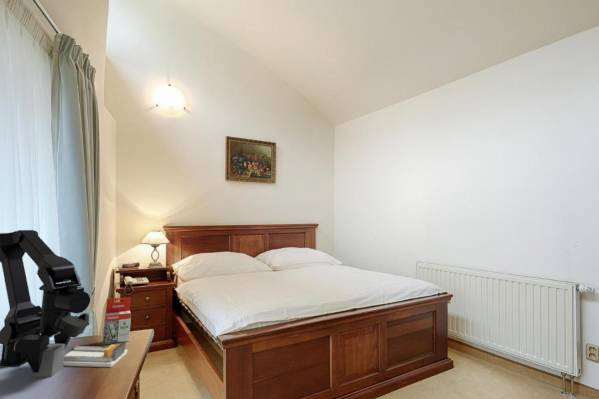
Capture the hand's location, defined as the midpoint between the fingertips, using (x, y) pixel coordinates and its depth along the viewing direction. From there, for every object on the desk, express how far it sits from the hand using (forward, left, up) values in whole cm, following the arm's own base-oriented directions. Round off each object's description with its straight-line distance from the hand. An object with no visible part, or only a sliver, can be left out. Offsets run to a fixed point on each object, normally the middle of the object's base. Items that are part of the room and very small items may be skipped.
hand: (48, 364), depth 89 cm
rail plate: (+7, +9, -2) cm, 12 cm away
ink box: (+7, +23, -2) cm, 24 cm away
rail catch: (+12, +9, -1) cm, 15 cm away
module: (0, 0, -2) cm, 2 cm away
